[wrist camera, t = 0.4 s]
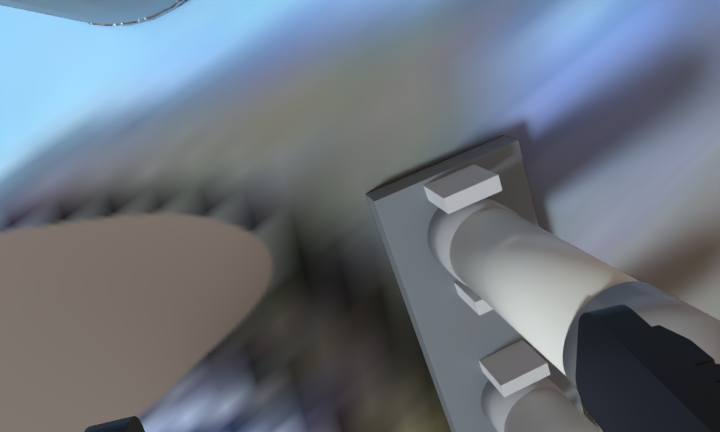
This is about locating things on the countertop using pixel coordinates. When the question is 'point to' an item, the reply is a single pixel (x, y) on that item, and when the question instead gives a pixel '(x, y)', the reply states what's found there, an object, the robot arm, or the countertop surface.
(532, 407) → the fuse marked
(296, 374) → the countertop surface
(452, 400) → the fuse board
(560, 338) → the fuse
